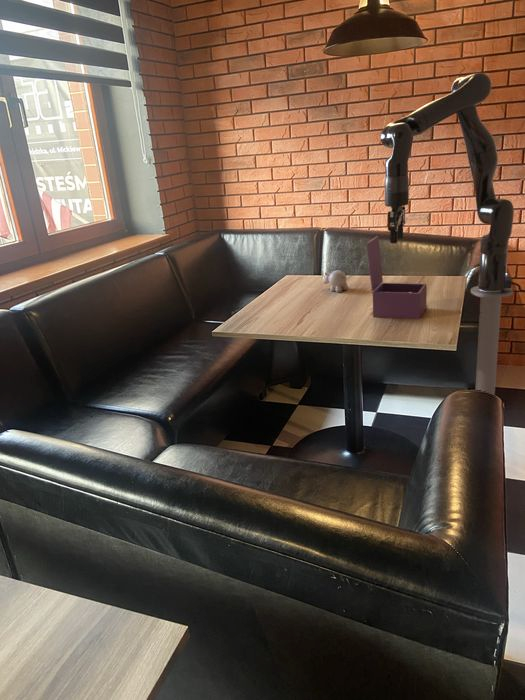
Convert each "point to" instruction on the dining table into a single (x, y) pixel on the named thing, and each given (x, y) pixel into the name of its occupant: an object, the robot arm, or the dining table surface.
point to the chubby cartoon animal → (336, 280)
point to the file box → (399, 300)
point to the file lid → (374, 262)
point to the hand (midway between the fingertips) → (396, 240)
